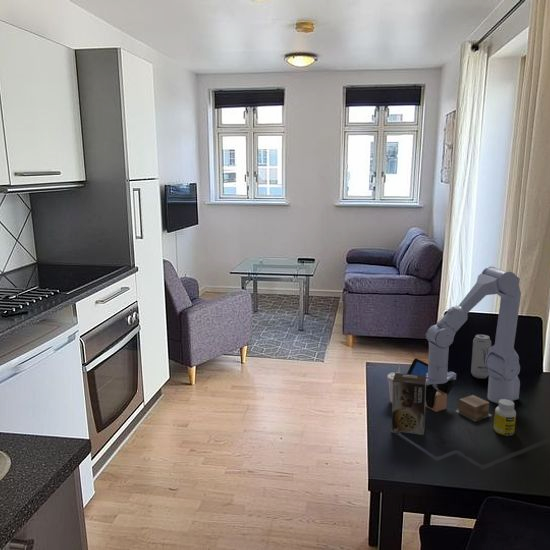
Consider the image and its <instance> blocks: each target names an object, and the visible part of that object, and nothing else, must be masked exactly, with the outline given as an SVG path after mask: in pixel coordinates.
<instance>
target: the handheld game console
mask: <svg viewBox="0 0 550 550" xmlns="http://www.w3.org/2000/svg"><path fill="white" fill-rule="evenodd" d="M426 373H428V362H424V361H423V360H420V359H418V358H414V359H413V361H412V362H411V364H410V367H409V369H408V371H407V373H406V374H413V375H423V376H426Z"/></svg>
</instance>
